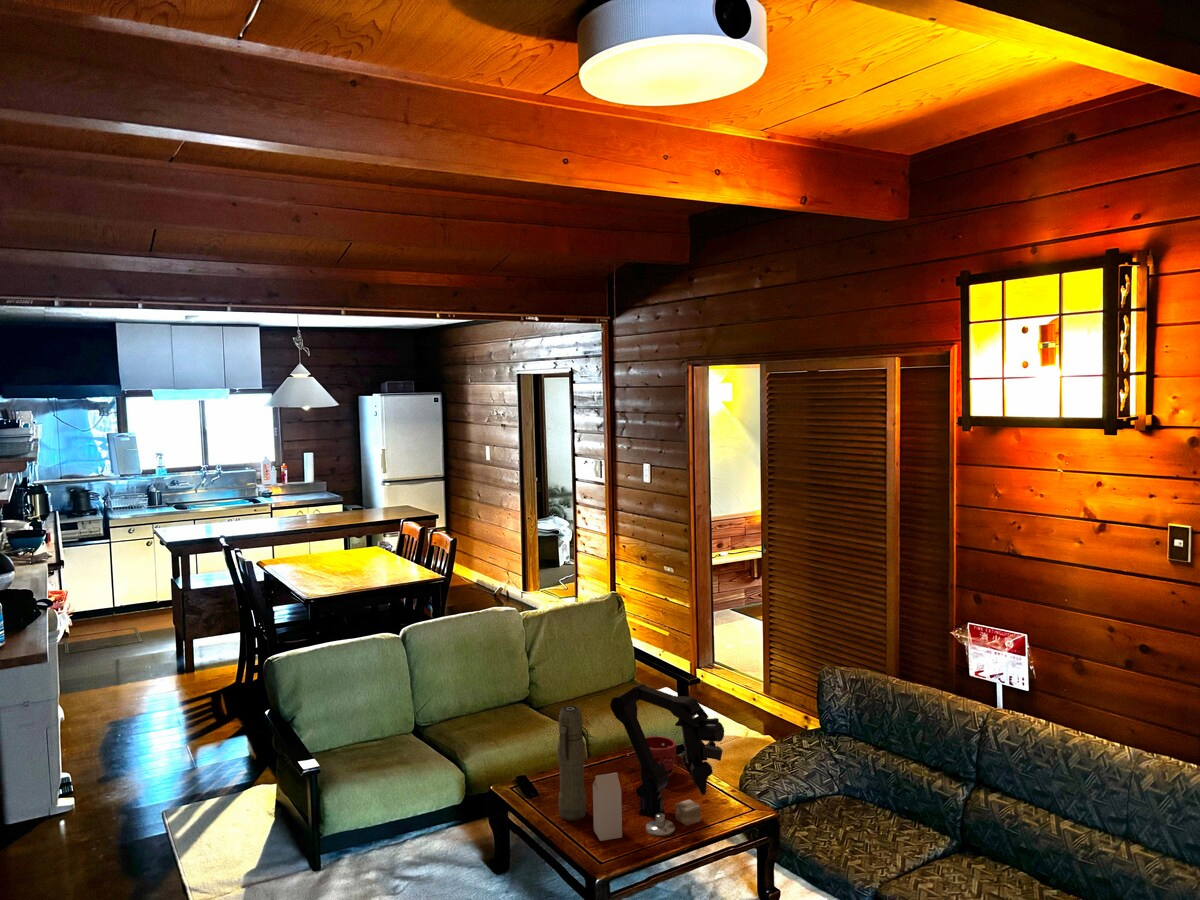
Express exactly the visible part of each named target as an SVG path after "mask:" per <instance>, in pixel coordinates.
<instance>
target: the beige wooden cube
mask: <svg viewBox="0 0 1200 900" xmlns="http://www.w3.org/2000/svg"><path fill="white" fill-rule="evenodd" d="M674 808H675V809H674V811H675V820H677V821H678V822H680V823H681V824H683V825H684V826H686V827H688V826H690V825H693V824H697V823H699V822H701V805H700V804H698V803H697V802H695V801H693V800H691V799H690V798H689V799H686V800H682V801H679V802H676V803H675V807H674Z"/></svg>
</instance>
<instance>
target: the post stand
mask: <svg viewBox="0 0 1200 900" xmlns="http://www.w3.org/2000/svg"><path fill="white" fill-rule="evenodd" d="M665 817H666V815H665V814H664V813H662V812H661V813H658V814H656V817H655V819H652V820H651V821H650V820H649V821H648V822H647V823H645V830H646V833H647V834H649V835H650V836H655V837H667V836H670V835H673V834H674V833H675V831H676V826H675V823H673V822H672V821H670V820H667V819H665Z"/></svg>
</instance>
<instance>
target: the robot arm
mask: <svg viewBox="0 0 1200 900" xmlns="http://www.w3.org/2000/svg"><path fill="white" fill-rule="evenodd" d="M638 701H643V702H646V703H648V704H651V705H653V706H656V707H660V708H662V709H665V710H667V711H668V712H670V713H671V715H673V716H674V717H675V718H677V719H678V720H677V722H675V725H674V726H675V727H681V732H682V739H683V742H682V745H683V747H684V750H683V751H682V752H681V754H680V755H681V761H682V762H683V765H684V767H685V768H686V770H687V772H688V775H690V777H691V779H692V781H693V783H694V784H695V786H696V787H697V788H698V790H699V792H700V794H701V796H705V795H706V792H707V783H708V782H707V781H708V778H709V777H710V776H711V775H712V774H713V773H714V772H713V766H712V765H711V764H710V763H709V762H708V761H709V760H708V759H711V760H716V761H719V762H720V761H722V756H723V749H722V748H721V747H720V746H719V745H716V743H715V742H718V743H719V742H722V741H723V740H724V737H725V727H724V726H723V724H722V723H721V722H720V720H719V718H717V717H714V718H709V715H708V714H707V713H706V711H705V710H704V708H703V707H702V706H701V705H700V702H699V701H698V699H696V698H695V697H692V696H686V695H681V696H680V695H672V694H670V693H667V692H664V691H662V690H658V689H655V688H653V687H649V686H648V685H646V684H644V683H639V684H637V685H635V686H633V687H632V688H631V689H629V690H628V691H627V692H623V693H621V694H619V695H617V696H615V697H613V698H612V699H611V701H610V703H609V707H610V710H611V712H612V713H613V716H614V717H615V718H616V720H618V721H619V722H620V723H622V724H623V726H624V729H625V732H626V733H627V736H628V738H629V741H630V743H631V747H632V748H633V751H634V753H635V755H636V758H637V760H638V762H639V765H640V780H641V783H642V784H640V785H639V786H638V787H637V788H636V789H635V791H636V795H637V797H639V806H640V807H639V810H638V811H637V812H638V814H639V815H643V816H647V817H653V818H656V814H658V813H662V811H663V810H664V803H663V802H664V800H663V799H664V798H663V797H662V791H664V790H665V787H666V786H667V785H668V783H669V777H668V776H667V775H668V773H667V772H666V770H665V766H664V764H663V763H661V764H659V763H658V762H656V761H655V759H654V757H653V755H652V752H651V750H650V748H651V747H650V748H649V745H648V743H647V740H646V735H645V734H644V730H643V729H642V726H641V723H640V722H639V721H640V720H639V719H638V705H637V702H638ZM695 716H696V717H695ZM705 742H707V743H705Z"/></svg>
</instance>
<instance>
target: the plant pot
mask: <svg viewBox="0 0 1200 900" xmlns="http://www.w3.org/2000/svg"><path fill="white" fill-rule="evenodd" d="M645 738H646V740H647V743H648V745H649V748H650V750H651V752H652V755H653V757H654V759H655V761H656V762H658V763H659V764H661V763H663V764H664V766H665V770H666V772H667V773H668V775H667V776H668V778H670V777H671V776H672V775H673V773H674V768H673V766H674V764H675V761H676V760H675V759H676V753H677V743H676V741H675V740H674V739H672V738H669V737H665V736H659V735H658V736H657V735H656V736H645ZM657 746H659V747H657Z"/></svg>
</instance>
